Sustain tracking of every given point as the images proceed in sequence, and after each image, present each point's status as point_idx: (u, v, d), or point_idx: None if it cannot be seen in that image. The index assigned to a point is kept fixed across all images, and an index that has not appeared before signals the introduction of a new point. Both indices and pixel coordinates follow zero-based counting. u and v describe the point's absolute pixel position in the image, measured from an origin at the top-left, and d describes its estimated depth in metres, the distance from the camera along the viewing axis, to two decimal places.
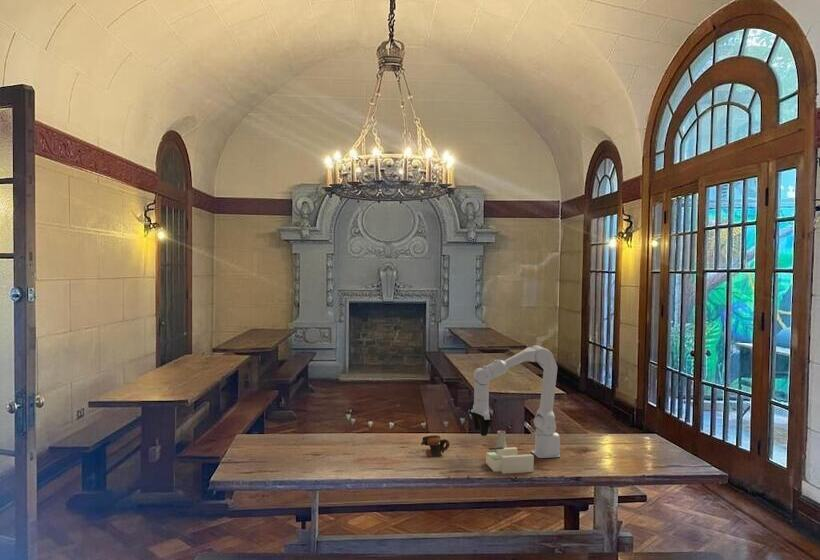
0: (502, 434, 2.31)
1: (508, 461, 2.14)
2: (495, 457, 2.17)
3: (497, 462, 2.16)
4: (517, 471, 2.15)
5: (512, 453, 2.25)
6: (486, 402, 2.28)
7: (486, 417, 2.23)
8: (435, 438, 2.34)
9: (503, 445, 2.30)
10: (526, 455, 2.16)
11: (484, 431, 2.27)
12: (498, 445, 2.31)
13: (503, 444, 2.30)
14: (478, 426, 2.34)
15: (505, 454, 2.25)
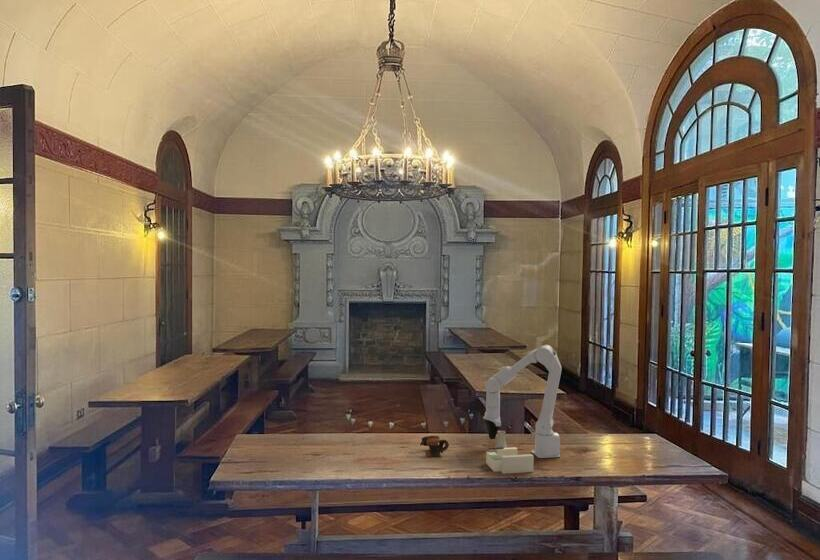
0: (502, 434, 2.31)
1: (508, 461, 2.14)
2: (495, 457, 2.17)
3: (497, 462, 2.16)
4: (517, 471, 2.15)
5: (512, 453, 2.25)
6: (497, 409, 2.40)
7: (498, 424, 2.35)
8: (434, 438, 2.33)
9: (503, 445, 2.30)
10: (526, 455, 2.16)
11: (492, 435, 2.42)
12: (498, 445, 2.31)
13: (503, 444, 2.30)
14: None
15: (505, 454, 2.25)
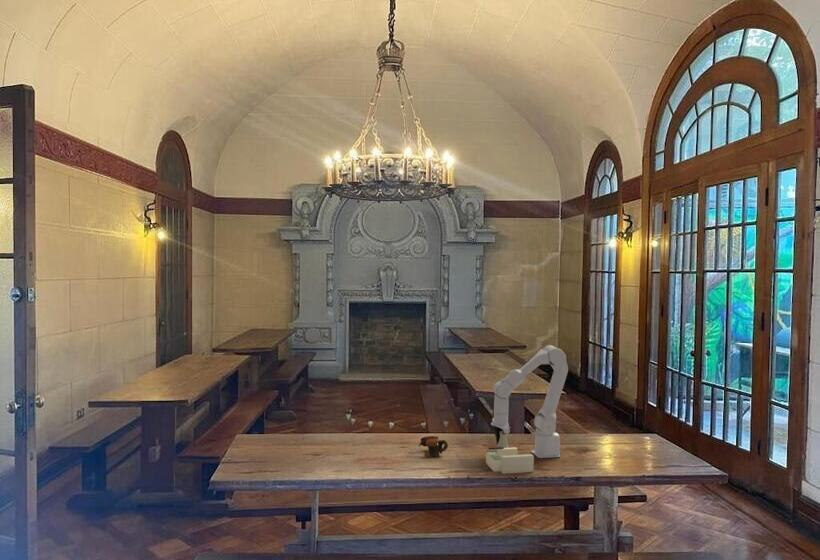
0: (504, 435, 2.28)
1: (508, 461, 2.14)
2: (495, 457, 2.17)
3: (497, 462, 2.16)
4: (517, 471, 2.15)
5: (512, 453, 2.25)
6: (506, 416, 2.30)
7: (506, 431, 2.25)
8: (433, 439, 2.33)
9: (504, 447, 2.28)
10: (526, 455, 2.16)
11: None
12: (500, 446, 2.29)
13: (505, 445, 2.28)
14: None
15: (505, 454, 2.25)
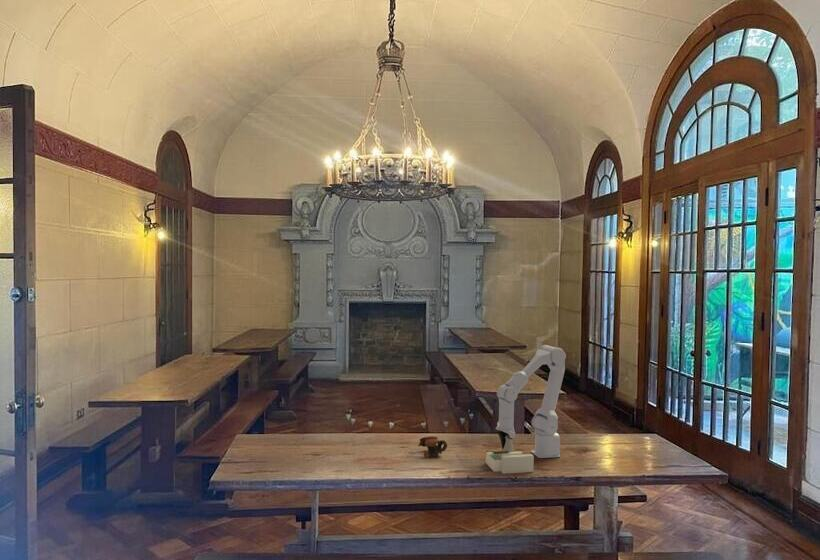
0: (510, 440, 2.22)
1: (508, 461, 2.14)
2: (495, 457, 2.17)
3: (497, 462, 2.16)
4: (517, 471, 2.15)
5: None
6: (511, 420, 2.25)
7: (512, 435, 2.20)
8: (433, 439, 2.32)
9: (510, 451, 2.23)
10: (526, 455, 2.16)
11: None
12: None
13: (511, 450, 2.23)
14: None
15: None
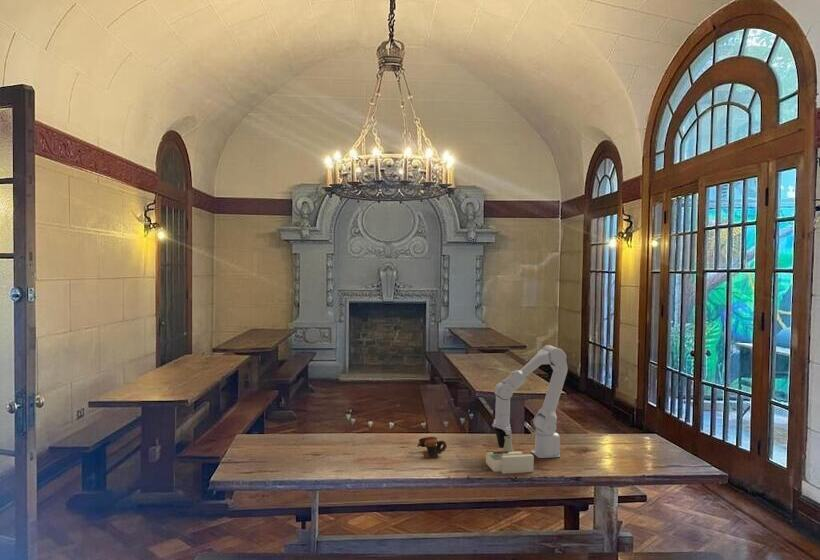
0: (509, 440, 2.24)
1: (508, 461, 2.14)
2: (495, 457, 2.17)
3: (497, 462, 2.16)
4: (517, 471, 2.15)
5: None
6: (507, 417, 2.29)
7: (508, 432, 2.24)
8: (432, 439, 2.32)
9: (510, 451, 2.23)
10: (526, 455, 2.16)
11: (502, 443, 2.31)
12: None
13: (510, 450, 2.24)
14: None
15: None
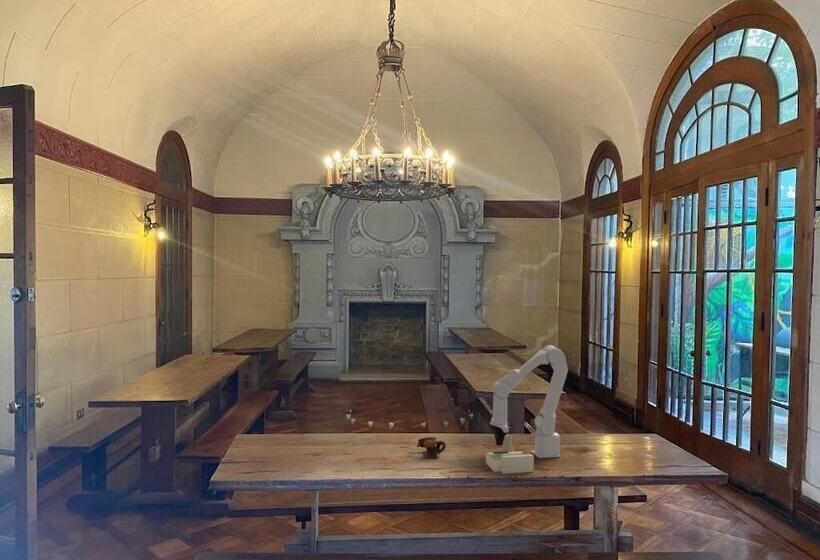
0: (509, 440, 2.24)
1: (508, 461, 2.14)
2: (495, 457, 2.17)
3: (497, 462, 2.16)
4: (517, 471, 2.15)
5: None
6: (505, 415, 2.31)
7: (505, 430, 2.27)
8: (431, 440, 2.31)
9: (510, 451, 2.23)
10: (526, 455, 2.16)
11: (500, 441, 2.33)
12: None
13: (510, 450, 2.24)
14: None
15: None
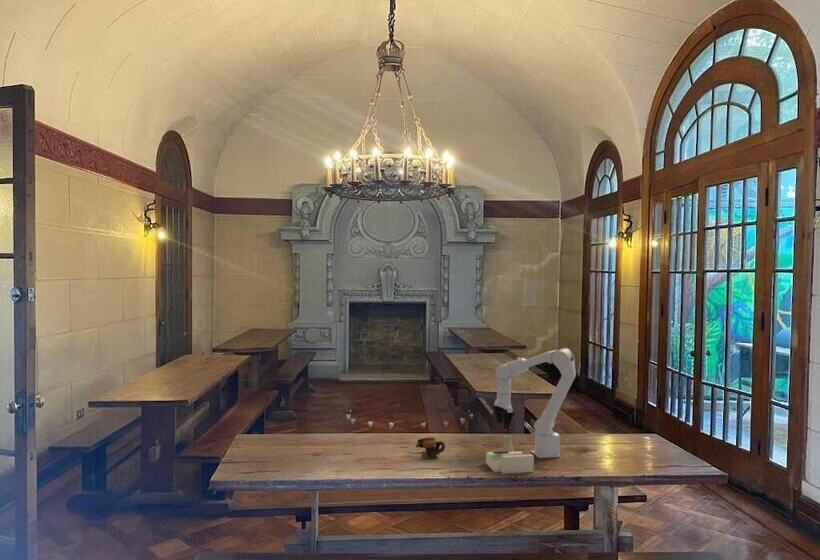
0: (509, 440, 2.24)
1: (508, 461, 2.14)
2: (495, 457, 2.17)
3: (497, 462, 2.16)
4: (517, 471, 2.15)
5: None
6: (508, 396, 2.40)
7: (509, 410, 2.35)
8: (430, 440, 2.31)
9: (510, 451, 2.23)
10: (526, 455, 2.16)
11: (507, 424, 2.38)
12: None
13: (510, 450, 2.24)
14: (500, 419, 2.46)
15: None
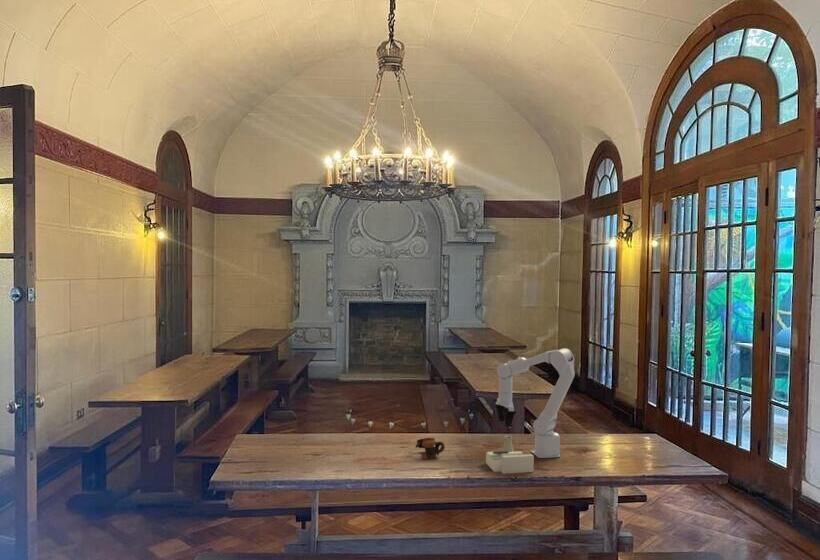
0: (509, 440, 2.24)
1: (508, 461, 2.14)
2: (495, 457, 2.17)
3: (497, 462, 2.16)
4: (517, 471, 2.15)
5: None
6: (510, 395, 2.42)
7: (510, 409, 2.37)
8: (430, 440, 2.31)
9: (510, 451, 2.23)
10: (526, 455, 2.16)
11: (508, 422, 2.41)
12: None
13: (510, 450, 2.24)
14: (502, 418, 2.48)
15: None
